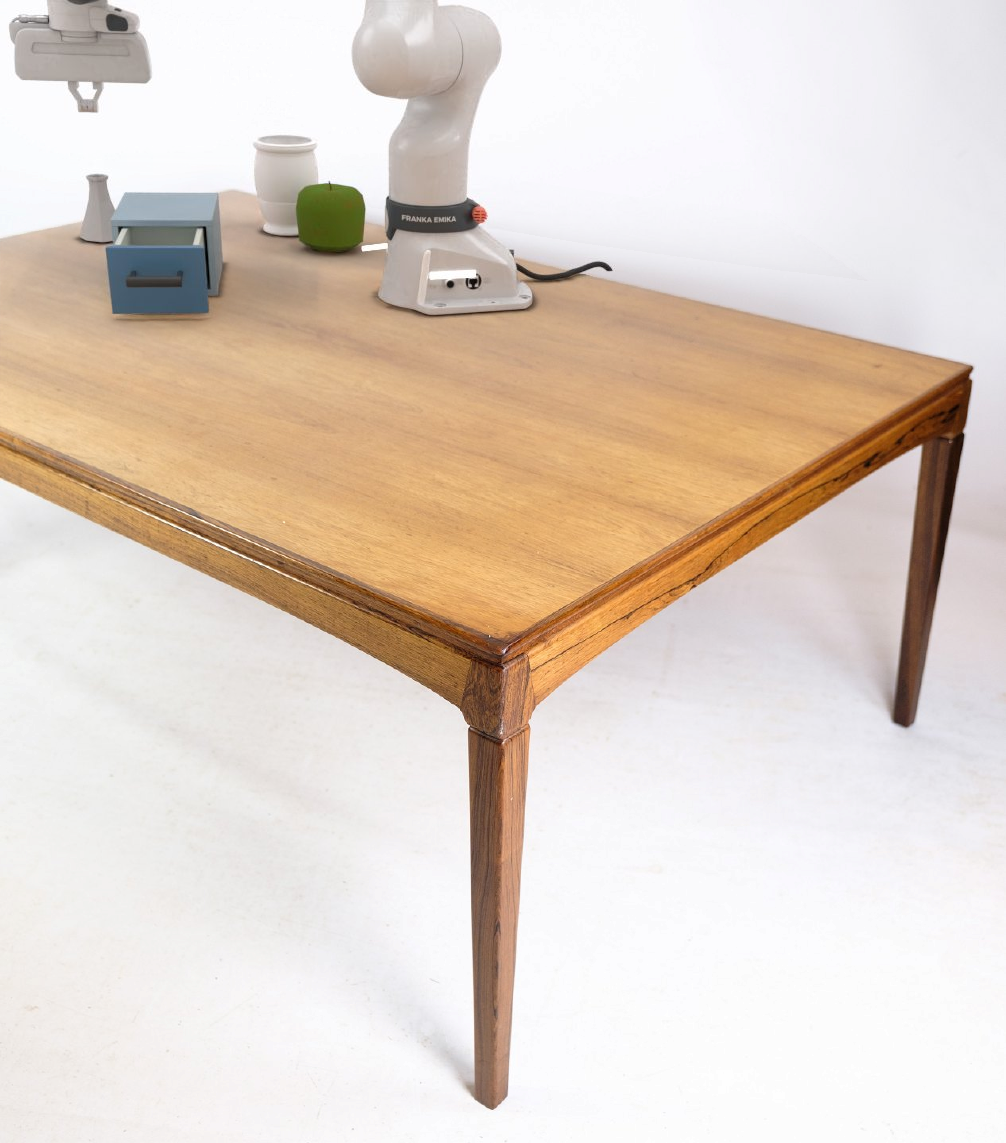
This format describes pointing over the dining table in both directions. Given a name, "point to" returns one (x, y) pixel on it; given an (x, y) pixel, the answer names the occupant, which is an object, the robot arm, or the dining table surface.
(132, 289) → the drawer
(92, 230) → the flask
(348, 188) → the apple
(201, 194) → the cabinet
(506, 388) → the dining table surface
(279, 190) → the jar
